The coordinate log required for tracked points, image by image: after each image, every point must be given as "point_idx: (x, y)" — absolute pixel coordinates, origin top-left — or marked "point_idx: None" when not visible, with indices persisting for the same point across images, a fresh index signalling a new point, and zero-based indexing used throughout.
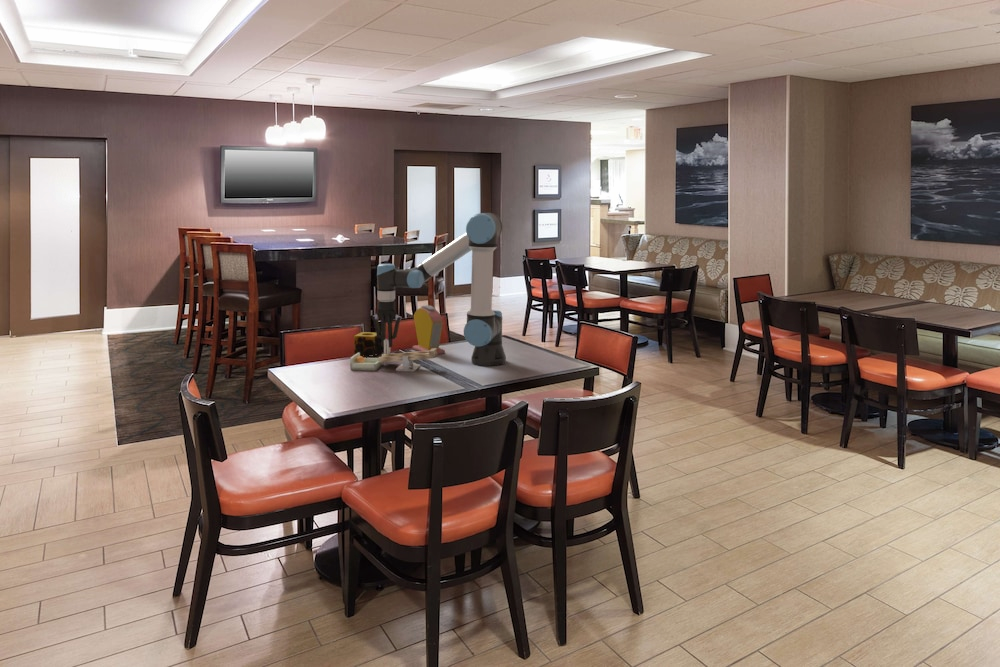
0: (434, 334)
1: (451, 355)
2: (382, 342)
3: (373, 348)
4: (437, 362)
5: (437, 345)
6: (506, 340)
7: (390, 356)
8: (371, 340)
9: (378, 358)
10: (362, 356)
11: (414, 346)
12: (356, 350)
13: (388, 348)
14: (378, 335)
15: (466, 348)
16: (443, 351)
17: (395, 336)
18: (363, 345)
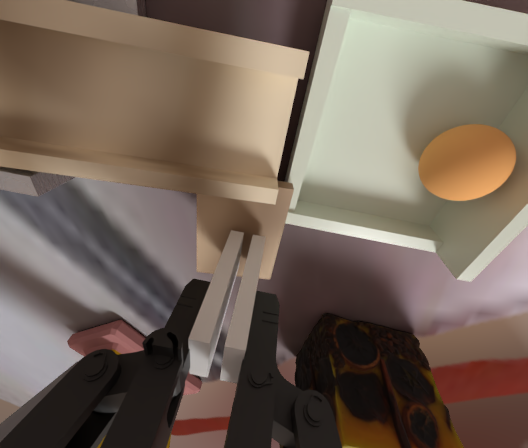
0: (19, 419)
1: (38, 312)
2: (268, 333)
3: (337, 360)
4: (12, 222)
5: (74, 365)
6: (9, 398)
7: (144, 28)
8: (355, 415)
9: (303, 52)
10: (382, 330)
11: (190, 387)
12: (419, 365)
13: (217, 266)
14: (316, 439)
15: (50, 366)
16: (70, 339)
17: (61, 382)
18: (393, 388)
